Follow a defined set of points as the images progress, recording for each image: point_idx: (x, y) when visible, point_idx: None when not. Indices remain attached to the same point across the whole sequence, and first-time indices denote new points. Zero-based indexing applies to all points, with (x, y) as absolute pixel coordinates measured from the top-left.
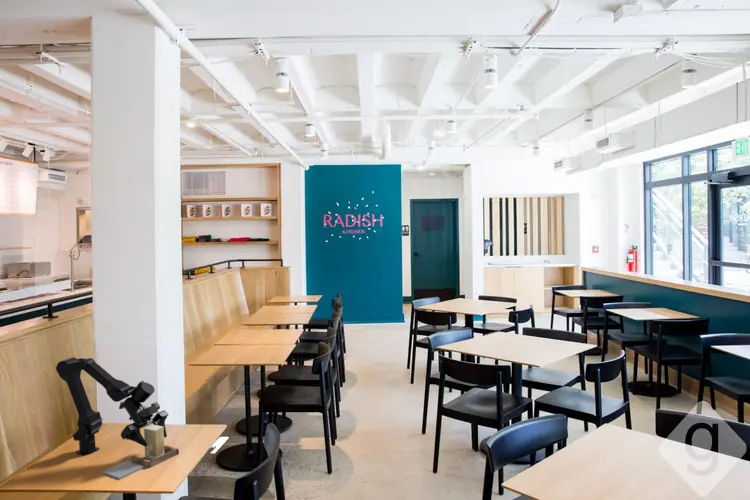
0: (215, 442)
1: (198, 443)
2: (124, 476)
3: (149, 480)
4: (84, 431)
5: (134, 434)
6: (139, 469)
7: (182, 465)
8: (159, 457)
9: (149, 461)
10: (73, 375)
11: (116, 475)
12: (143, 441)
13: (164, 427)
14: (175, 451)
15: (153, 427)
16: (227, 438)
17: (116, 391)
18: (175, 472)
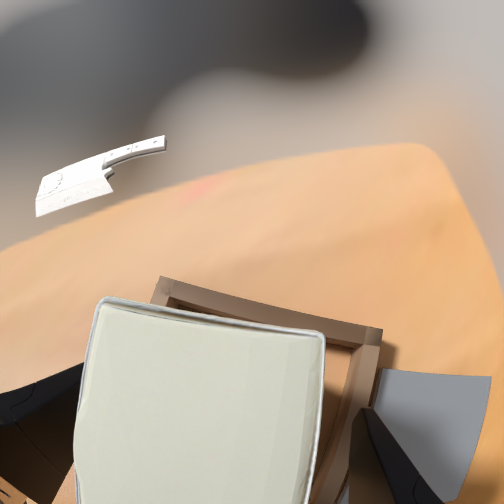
0: (71, 189)
1: (62, 260)
2: (472, 376)
3: (449, 238)
4: None
5: None
6: (407, 371)
7: (294, 184)
8: (305, 319)
9: (372, 343)
10: None
11: (479, 412)
12: (396, 444)
13: (37, 388)
14: (185, 284)
15: (185, 485)
16: (51, 174)
17: None
18: (359, 177)
